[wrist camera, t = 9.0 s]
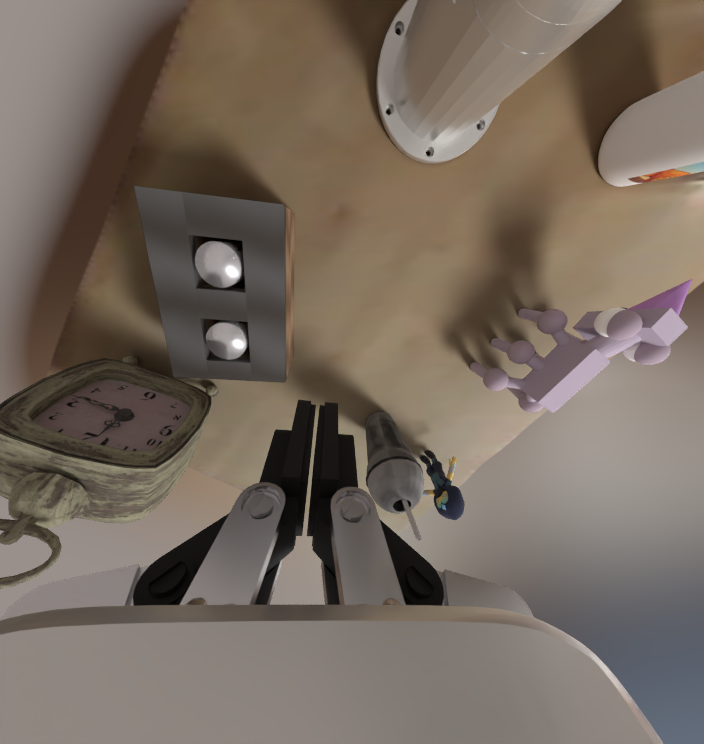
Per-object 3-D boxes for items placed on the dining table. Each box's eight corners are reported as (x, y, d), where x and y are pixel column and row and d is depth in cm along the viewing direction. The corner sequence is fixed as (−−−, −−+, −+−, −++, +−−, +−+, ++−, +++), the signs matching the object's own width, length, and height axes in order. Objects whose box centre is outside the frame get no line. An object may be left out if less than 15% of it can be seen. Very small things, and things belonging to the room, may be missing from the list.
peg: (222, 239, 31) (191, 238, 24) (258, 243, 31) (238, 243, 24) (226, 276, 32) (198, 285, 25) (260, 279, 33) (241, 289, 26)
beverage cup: (350, 434, 45) (364, 562, 27) (368, 398, 42) (397, 515, 24) (389, 445, 46) (427, 573, 28) (408, 411, 44) (464, 530, 26)
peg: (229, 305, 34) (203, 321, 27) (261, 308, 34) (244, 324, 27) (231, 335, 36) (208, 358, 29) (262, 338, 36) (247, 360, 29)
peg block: (182, 199, 29) (133, 185, 22) (294, 213, 30) (283, 204, 23) (203, 350, 37) (173, 376, 29) (293, 355, 38) (285, 382, 31)
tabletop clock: (231, 383, 39) (98, 574, 17) (213, 429, 42) (82, 641, 20) (120, 341, 35) (-247, 516, 13) (110, 395, 38) (-197, 610, 16)
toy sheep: (567, 242, 34) (704, 248, 22) (608, 289, 38) (744, 316, 26) (459, 364, 40) (520, 419, 28) (503, 394, 44) (573, 454, 32)
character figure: (436, 434, 46) (469, 493, 35) (453, 443, 47) (490, 503, 37) (403, 469, 49) (424, 532, 38) (420, 477, 50) (445, 541, 40)
